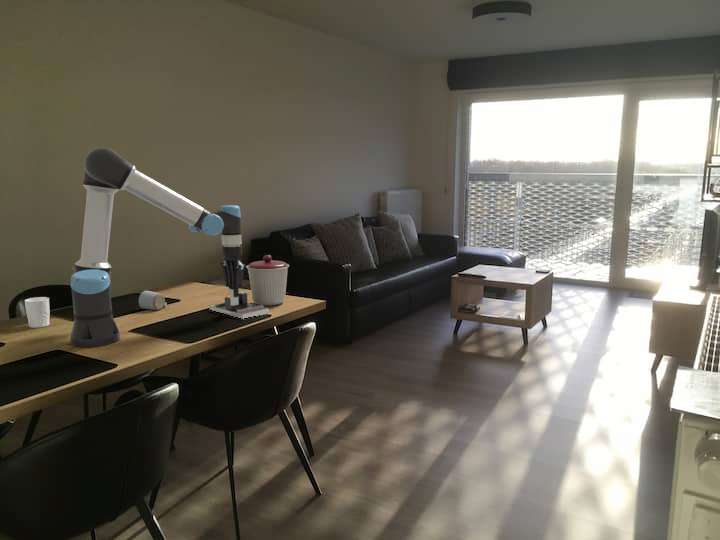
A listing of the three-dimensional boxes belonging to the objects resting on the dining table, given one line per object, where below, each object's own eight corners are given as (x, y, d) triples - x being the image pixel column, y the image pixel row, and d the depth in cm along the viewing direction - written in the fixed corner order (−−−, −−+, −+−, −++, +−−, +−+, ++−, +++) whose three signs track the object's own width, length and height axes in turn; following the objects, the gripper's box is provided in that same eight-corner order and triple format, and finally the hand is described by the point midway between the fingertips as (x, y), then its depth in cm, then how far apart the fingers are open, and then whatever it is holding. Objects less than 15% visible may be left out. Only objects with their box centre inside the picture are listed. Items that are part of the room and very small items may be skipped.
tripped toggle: (231, 309, 224) (230, 297, 223) (225, 308, 226) (224, 295, 225) (236, 308, 225) (236, 296, 225) (230, 306, 228) (230, 294, 227)
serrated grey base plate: (242, 319, 218) (241, 301, 217) (209, 310, 232) (208, 294, 231) (269, 313, 228) (268, 296, 226) (235, 305, 242) (235, 289, 241)
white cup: (56, 323, 214) (53, 297, 212) (39, 329, 207) (36, 302, 205) (39, 322, 216) (36, 296, 214) (22, 327, 209) (19, 301, 207)
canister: (283, 308, 235) (281, 258, 231) (241, 307, 238) (239, 257, 234) (295, 299, 253) (293, 252, 249) (256, 298, 255) (254, 251, 252)
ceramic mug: (154, 312, 231) (153, 293, 229) (138, 310, 234) (137, 292, 232) (172, 306, 240) (171, 289, 239) (156, 305, 243) (155, 287, 242)
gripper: (250, 245, 218) (252, 305, 222) (230, 243, 227) (232, 300, 231) (234, 247, 213) (236, 309, 217) (214, 245, 221) (217, 304, 225)
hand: (234, 304), depth 224 cm, fingers closed
